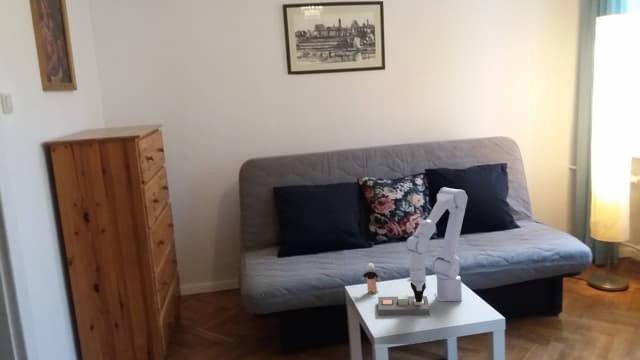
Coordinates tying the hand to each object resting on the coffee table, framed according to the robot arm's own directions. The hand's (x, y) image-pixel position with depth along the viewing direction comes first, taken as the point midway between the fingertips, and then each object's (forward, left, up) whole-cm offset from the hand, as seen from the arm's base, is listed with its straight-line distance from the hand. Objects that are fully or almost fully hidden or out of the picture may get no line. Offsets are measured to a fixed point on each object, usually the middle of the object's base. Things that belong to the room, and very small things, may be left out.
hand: (418, 301), depth 194 cm
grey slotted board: (+6, 0, -3) cm, 7 cm away
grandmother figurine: (+18, -17, -3) cm, 25 cm away
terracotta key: (+12, 0, -3) cm, 12 cm away
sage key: (+6, 0, -1) cm, 6 cm away
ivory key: (0, 0, -3) cm, 3 cm away
